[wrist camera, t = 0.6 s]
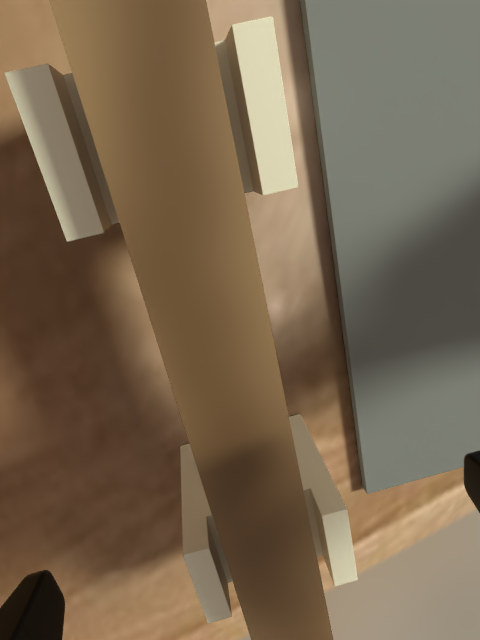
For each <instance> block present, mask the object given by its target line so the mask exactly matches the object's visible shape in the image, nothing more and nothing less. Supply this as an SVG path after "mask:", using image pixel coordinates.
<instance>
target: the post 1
mask: <svg viewBox="0 0 480 640" xmlns="http://www.w3.org/2000/svg"><path fill="white" fill-rule="evenodd" d="M215 48H216V53H217V58H218V63H219V69H220V74H221V79H222V84H223V89H224V94H225V99H226V104H227V109H228V114H229V119H230V124H231V129H232V134H233V139H234V144H235V149H236V154H237V159H238V164H239V169H240V174H241V179H242V184H243V189H244V193H248V192H252V191H255V192H257V193H259V194H261V195H267V194H271V193H275V192H279V191H284V190H288V189H292V188H296V187H298V181H297V174H296V168H295V161H294V155H293V148H292V141H291V135H290V128H289V122H288V115H287V108H286V102H285V95H284V88H283V82H282V75H281V69H280V62H279V55H278V49H277V42H276V36H275V29H274V22H273V16H271V17H266V18H261V19H256V20H252V21H247V22H242V23H238V24H233V25H232V26H231V28H230V30H229V32H228V35H227V37H226V39H225V40H224V41H220V42H215ZM5 75H6V78H7V81H8V83H9V86H10V89H11V91H12V94H13V97H14V100H15V102H16V105H17V108H18V110H19V113H20V116H21V118H22V121H23V124H24V127H25V129H26V132H27V135H28V137H29V140H30V143H31V146H32V148H33V151H34V154H35V156H36V159H37V162H38V165H39V167H40V170H41V173H42V175H43V178H44V181H45V183H46V186H47V189H48V192H49V194H50V197H51V200H52V202H53V205H54V208H55V211H56V213H57V216H58V219H59V221H60V224H61V227H62V229H63V232H64V235H65V238H66V240H67V242H68V241H72V240H76V239H81V238H85V237H89V236H93V235H97V234H102V233H105V231H106V230H107V229H108V228H109V227H110V226H111V225H112V224H116V223H119V219H118V216H117V213H116V210H115V207H114V204H113V200H112V197H111V194H110V191H109V188H108V185H107V181H106V178H105V175H104V172H103V169H102V166H101V162H100V159H99V156H98V153H97V150H96V147H95V143H94V140H93V137H92V134H91V131H90V128H89V124H88V121H87V118H86V115H85V112H84V109H83V105H82V102H81V99H80V96H79V93H78V90H77V86H76V83H75V80H74V77H73V74H72V73H70V74H66V75H63V74H61V73H60V72H58V71H57V70H56V69H54V68H53V67H52V66H50V65H49V64H44V65H39V66H35V67H30V68H25V69H21V70H16V71H11V72H6V73H5Z"/></svg>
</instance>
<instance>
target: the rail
mask: <svg viewBox="0 0 480 640" xmlns="http://www.w3.org/2000/svg"><path fill="white" fill-rule="evenodd" d="M49 1H50V4H51V7H52V11H53V14H54V17H55V20H56V23H57V26H58V30H59V33H60V36H61V39H62V42H63V45H64V49H65V52H66V55H67V58H68V61H69V64H70V67H71V71H72V74H73V77H74V80H75V83H76V86H77V90H78V93H79V96H80V99H81V102H82V105H83V109H84V112H85V115H86V118H87V121H88V124H89V128H90V131H91V134H92V137H93V140H94V143H95V147H96V150H97V153H98V156H99V159H100V162H101V166H102V169H103V172H104V175H105V178H106V181H107V185H108V188H109V191H110V194H111V197H112V200H113V204H114V207H115V210H116V213H117V216H118V219H119V223H120V226H121V229H122V232H123V235H124V238H125V241H126V245H127V248H128V251H129V254H130V257H131V260H132V264H133V267H134V270H135V273H136V276H137V279H138V283H139V286H140V289H141V292H142V295H143V298H144V302H145V305H146V308H147V311H148V314H149V317H150V321H151V324H152V327H153V330H154V333H155V336H156V340H157V343H158V346H159V349H160V352H161V355H162V359H163V362H164V365H165V368H166V371H167V374H168V378H169V381H170V384H171V387H172V390H173V393H174V397H175V400H176V403H177V406H178V409H179V412H180V416H181V419H182V422H183V425H184V428H185V431H186V434H187V438H188V441H189V444H190V447H191V450H192V453H193V457H194V460H195V463H196V466H197V469H198V472H199V476H200V479H201V482H202V485H203V488H204V491H205V495H206V498H207V501H208V504H209V507H210V510H211V514H212V517H213V520H214V523H215V526H216V529H217V533H218V536H219V539H220V542H221V545H222V548H223V552H224V555H225V558H226V561H227V564H228V567H229V571H230V574H231V577H232V580H233V583H234V586H235V590H236V593H237V596H238V599H239V602H240V605H241V609H242V612H243V615H244V618H245V621H246V624H247V627H248V631H249V634H250V637H251V640H333V636H332V631H331V626H330V621H329V616H328V611H327V606H326V601H325V596H324V591H323V586H322V581H321V576H320V570H319V565H318V560H317V555H316V550H315V545H314V540H313V535H312V530H311V525H310V520H309V515H308V510H307V505H306V500H305V495H304V490H303V485H302V480H301V475H300V470H299V465H298V460H297V455H296V450H295V445H294V440H293V435H292V430H291V425H290V420H289V415H288V410H287V405H286V400H285V395H284V390H283V385H282V380H281V375H280V370H279V365H278V360H277V355H276V350H275V345H274V340H273V335H272V330H271V325H270V320H269V314H268V309H267V304H266V299H265V294H264V289H263V284H262V279H261V274H260V269H259V264H258V259H257V254H256V249H255V244H254V239H253V234H252V229H251V224H250V219H249V214H248V209H247V204H246V199H245V194H244V189H243V184H242V179H241V174H240V169H239V164H238V159H237V154H236V149H235V144H234V139H233V134H232V129H231V124H230V119H229V114H228V109H227V104H226V99H225V94H224V89H223V84H222V79H221V74H220V69H219V63H218V58H217V53H216V48H215V43H214V38H213V33H212V28H211V23H210V18H209V13H208V8H207V3H206V0H49Z"/></svg>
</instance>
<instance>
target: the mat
mask: <svg viewBox="0 0 480 640" xmlns="http://www.w3.org/2000/svg"><path fill="white" fill-rule="evenodd" d="M300 5H301V12H302V20H303V28H304V36H305V43H306V51H307V59H308V67H309V74H310V82H311V90H312V98H313V105H314V113H315V121H316V129H317V136H318V144H319V152H320V160H321V167H322V175H323V183H324V191H325V198H326V206H327V214H328V222H329V229H330V237H331V245H332V253H333V260H334V268H335V276H336V284H337V291H338V299H339V307H340V314H341V322H342V330H343V338H344V345H345V353H346V361H347V369H348V376H349V384H350V392H351V400H352V407H353V415H354V423H355V431H356V438H357V446H358V454H359V462H360V469H361V477H362V485H363V488H364V490H365V491H366V493H367V494H369V493H372V492H376V491H380V490H383V489H387V488H390V487H394V486H397V485H401V484H404V483H408V482H412V481H415V480H419V479H422V478H426V477H429V476H433V475H436V474H440V473H443V472H447V471H451V470H454V469H458V468H461V467H464V457H465V455H466V454H468V453H472V452H475V451H479V450H480V0H300Z"/></svg>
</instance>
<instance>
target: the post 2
mask: <svg viewBox="0 0 480 640" xmlns="http://www.w3.org/2000/svg"><path fill="white" fill-rule="evenodd" d="M289 420H290V425H291V430H292V435H293V440H294V445H295V450H296V455H297V460H298V465H299V470H300V475H301V480H302V485H303V490H304V495H305V500H306V505H307V510H308V515H309V520H310V525H311V530H312V535H313V540H314V545H315V550H316V555H317V557H319V556H322V555H323V556H324V559H325V562H326V564H327V567H328V570H329V572H330V575H331V578H332V580H333V583H334V586H338V585H342V584H345V583H348V582H352V581H355V580H358V578H357V571H356V564H355V558H354V551H353V545H352V538H351V531H350V525H349V518H348V512H347V508H346V506H345V504H344V502H343V500H342V498H341V496H340V493H339V491H338V489H337V487H336V485H335V483H334V481H333V479H332V477H331V475H330V473H329V471H328V469H327V467H326V465H325V463H324V461H323V459H322V457H321V455H320V453H319V451H318V449H317V447H316V445H315V443H314V441H313V439H312V437H311V435H310V433H309V430H308V428H307V426H306V424H305V422H304V420H303V418H302V416H301V414H297V415H294V416H290V417H289ZM180 457H181V498H182V540H183V557H184V560H185V563H186V565H187V568H188V571H189V573H190V576H191V579H192V581H193V584H194V587H195V590H196V592H197V595H198V598H199V600H200V603H201V606H202V609H203V611H204V614H205V617H206V619H207V622H208V624H209V623H212V622H215V621H219V620H222V619H226V618H229V617H232V614H231V606H230V598H229V590H228V583H229V582H232V581H233V580H232V577H231V574H230V571H229V567H228V564H227V561H226V558H225V555H224V552H223V548H222V545H221V542H220V539H219V536H218V533H217V529H216V526H215V523H214V520H213V517H212V514H211V510H210V507H209V504H208V501H207V498H206V495H205V491H204V488H203V485H202V482H201V479H200V476H199V472H198V469H197V466H196V463H195V460H194V457H193V453H192V450H191V447H190V444H185V445H182V446H180Z"/></svg>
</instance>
